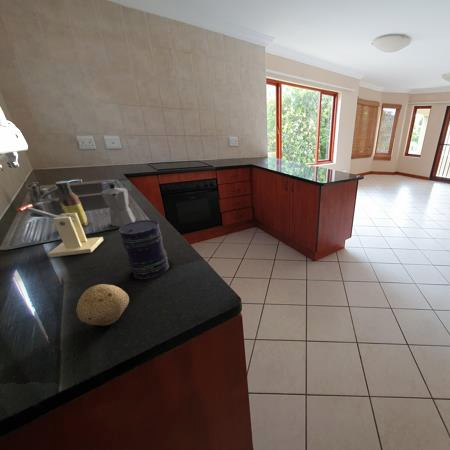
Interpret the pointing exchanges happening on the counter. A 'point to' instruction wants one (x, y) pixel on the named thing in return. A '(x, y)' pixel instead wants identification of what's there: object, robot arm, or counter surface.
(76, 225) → the bracket
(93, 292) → the potato
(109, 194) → the coffeepot
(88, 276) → the counter surface
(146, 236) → the storage jar
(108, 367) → the counter surface
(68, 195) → the sauce bottle
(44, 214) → the lever
